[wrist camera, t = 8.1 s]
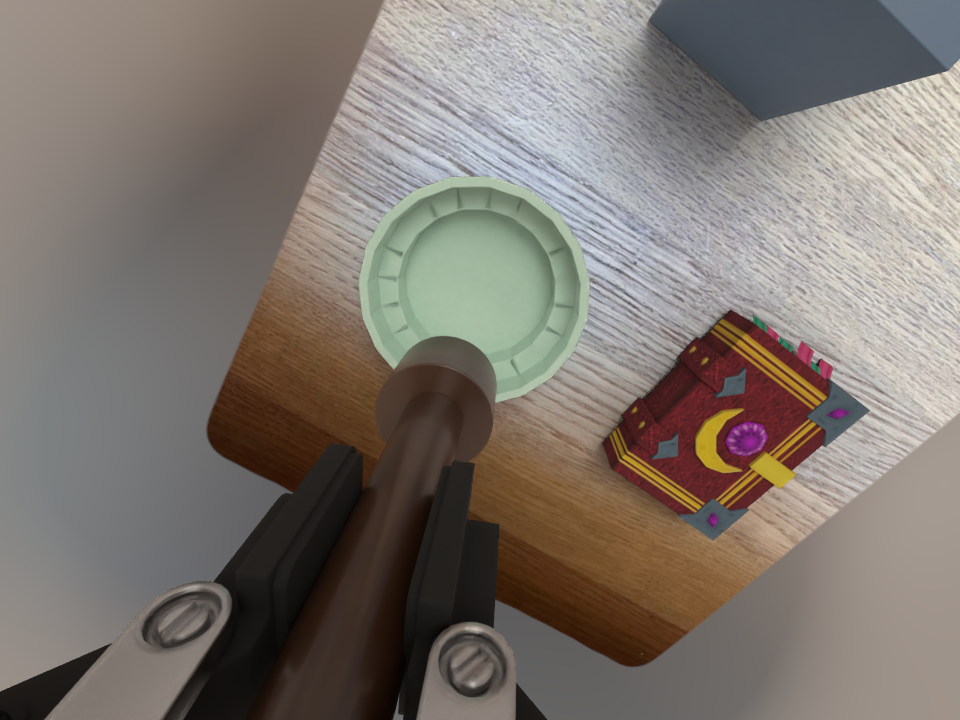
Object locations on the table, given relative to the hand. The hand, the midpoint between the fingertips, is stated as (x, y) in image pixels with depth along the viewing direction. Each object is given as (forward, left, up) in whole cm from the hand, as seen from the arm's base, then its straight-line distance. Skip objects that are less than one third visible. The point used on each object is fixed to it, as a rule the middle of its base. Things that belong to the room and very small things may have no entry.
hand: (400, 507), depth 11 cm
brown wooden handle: (0, 0, -8) cm, 8 cm away
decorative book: (+22, +3, -27) cm, 35 cm away
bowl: (0, 0, -26) cm, 26 cm away
